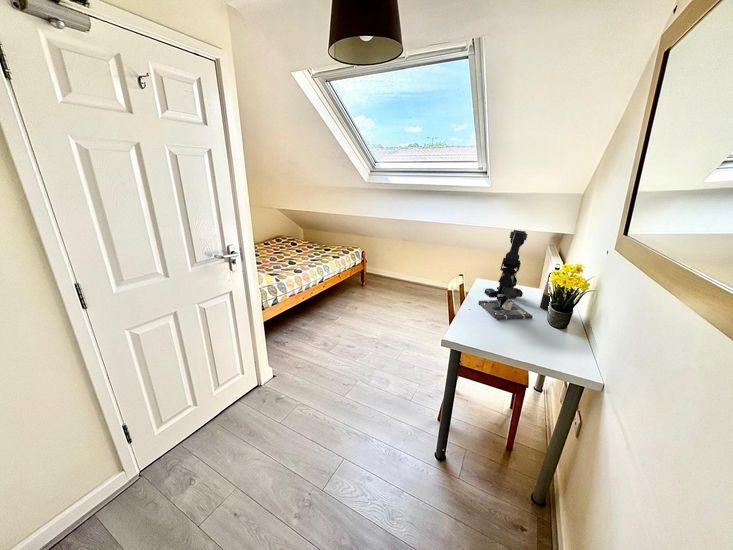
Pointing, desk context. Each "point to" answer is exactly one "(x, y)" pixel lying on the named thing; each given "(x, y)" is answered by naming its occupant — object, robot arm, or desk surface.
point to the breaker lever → (507, 305)
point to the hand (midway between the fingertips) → (500, 307)
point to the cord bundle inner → (489, 301)
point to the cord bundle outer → (514, 317)
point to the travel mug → (545, 297)
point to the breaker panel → (500, 311)
